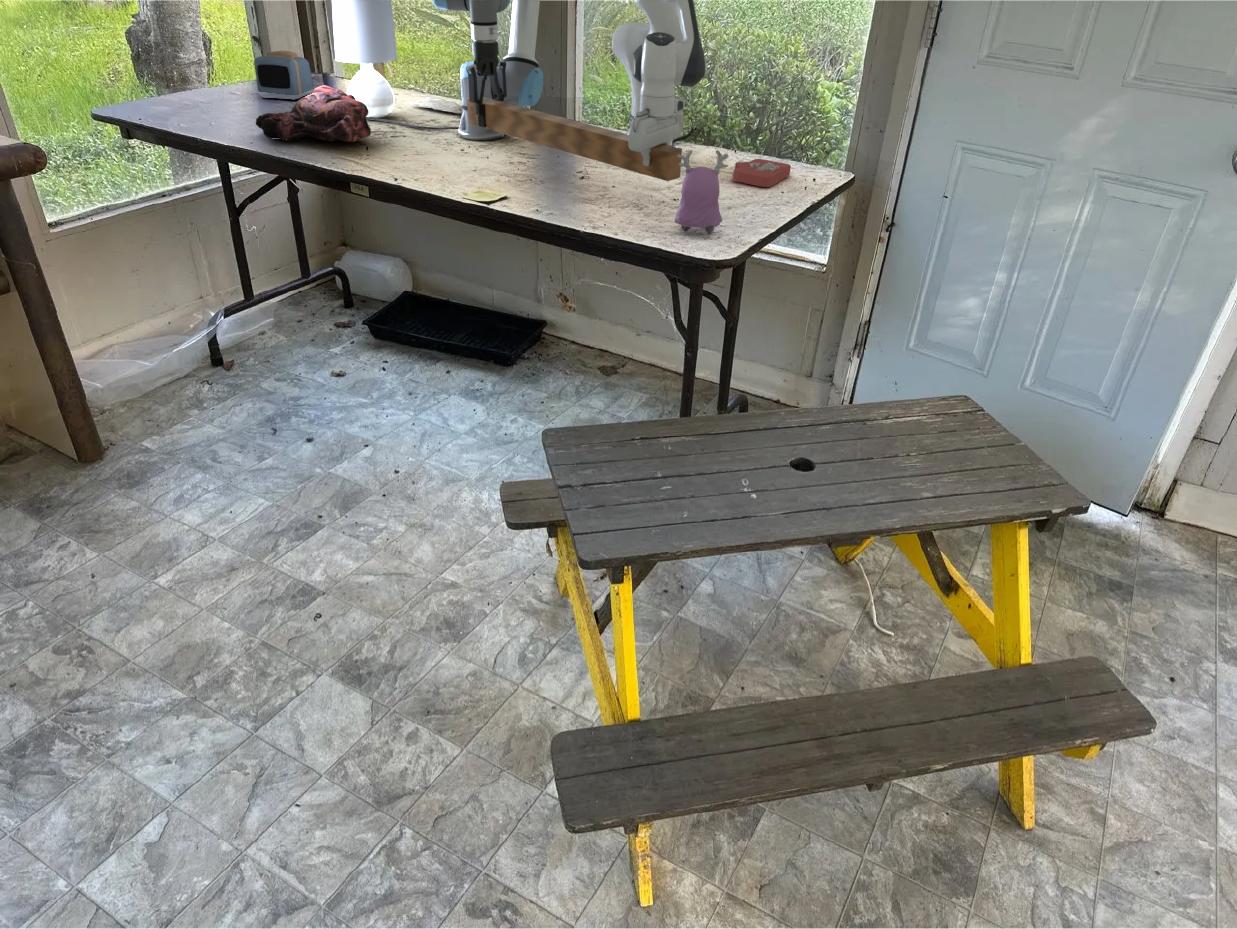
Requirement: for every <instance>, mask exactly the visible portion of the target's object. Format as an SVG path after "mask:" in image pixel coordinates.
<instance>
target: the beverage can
mask: <svg viewBox="0 0 1237 929" xmlns="http://www.w3.org/2000/svg"><path fill="white" fill-rule="evenodd" d="M321 77H322V86H323V85H326V86H329V87H331V88H334V89H337V90H338V88H337V82H336V74H334V72H333V71H323V72H322V74H321Z"/></svg>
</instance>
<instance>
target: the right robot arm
mask: <svg viewBox="0 0 1237 929" xmlns="http://www.w3.org/2000/svg"><path fill="white" fill-rule="evenodd" d="M633 3H634V5H635V7H637V8H638V9H639V10H640V11H641V12H642V13H643V14H644V15H645V17H646V19H647V22H648V23H645V22H638V21H634V22H633V21H632V22H626V23H620V24H619V25H618V26H617V27H616V28H615V30H614V32H613V34H612V38H611V48H612V52H613V54H614V57H615V58H616V59H617V60H619V62H620V63H621V64H622V66H623V67H624V70H625V72H626V74H627V76H628V80H629V84H630V93H631V94H630V95H631V98H630V99H631V103H630V104H631V106H630V108H631V110H630V114H629V119H628V126H629V129H628V131H627V132H625V134H628V135H629V143H628V146H629V148H630V150H631V151H636V152H641V154H642V157H643V165H645V166H649V165H651V164H652V158H650V155H649V153H650V148H653V147H655V146H658V145H661V144H666V145H670V146H673V144H675V143H677V142H679V141H683V140H686V139H688V138H690V137H691V135H692V133H693V132H694V131H698V129H697V128H698V127H696V128H695V129H692V128H691V129H690V130H689V131H688V133H687V134H685V135H683V136H681V135H682V133H683V128H684V111H683V110H684V109H685V107H686V101H685V100H683V99H680V98H677V97H676V88H675V86H680V87H686V88H687V87H688V88H693V87H695V86H696V85H698V84H699V83H700V82H701V81H702V80H703V79H704V78H705V74H706V68H707V60H706V55H705V51H704V47H703V44H702V40H701V35H700V30H699V29H700V28H699V25H698V24H699V23H698V18H697V13H696V7H695V2H694V0H633Z"/></svg>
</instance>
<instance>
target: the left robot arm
mask: <svg viewBox="0 0 1237 929" xmlns="http://www.w3.org/2000/svg"><path fill="white" fill-rule="evenodd" d="M431 1H432V3H433V6H434V7H435V8H436V9H437V10H443V11H454V12H455V11H456V12H457V11H458V12H469V15H470V16H469V17H470V34H471V35H470V36H471V40H473V41H472V42H471V48H472V49H471V50H472V55H473V58H474V60H471V61H467V62H464V63H463V64H461V66H460V69H459V73H460V78H459V80H460V91H461V106H463V113H462V114H461V118H460V121H459V126H441V127H439V126H423V125H417V124H411V123H406V122H402V121H396V120H393V119H385V118H370V117H366V119H367V121H378V122H384V123H390V124H395V125H401V126H406V127H410V128H415V129H420V130H421V129H422V130H435V131H447V130H448V131H449V130H458V136H459V137H460V138H462V139H465V140H471V141H491V140H492V141H493V140H499V139H501V138H503V137H504V136H505V134H503V133H499V132H496V131H492V130H489V129H486V114H485V104H482V103H483V97H486V98H489V99H493V100H497V101H501V102H505V103H509V104H512V105H516V106H520V107H534V106H536V105H537V104H538V102H539V101H540V100H541V96H542V93H543V88H544V73H543V70H542V69H541V68H540V67H539V66H540V64H539V62H538V61H537V59H536V50H537V49H536V47H537V39H538V38H537V36H538V25H539V15H540V3H541V0H512V8H511V9H512V10H511V19H510V30H509V42H508V43H509V44H508V53H507V55H505V56H504V57H503V58H502V60H500V59H499V55H500V49H499V48H500V46H499V42H498V39H499V31H498V30H499V29H498V13H501V12H503V11H505V10H506V9H507V8H508V7H509V6H510V4H511V0H431ZM467 98H469V101H470V102H473V103H475V105H476V114H477V115H478V125H479V126H480V127H479V126H475V125H472V124H469V123H468V110H467ZM482 127H484V128H482Z"/></svg>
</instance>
